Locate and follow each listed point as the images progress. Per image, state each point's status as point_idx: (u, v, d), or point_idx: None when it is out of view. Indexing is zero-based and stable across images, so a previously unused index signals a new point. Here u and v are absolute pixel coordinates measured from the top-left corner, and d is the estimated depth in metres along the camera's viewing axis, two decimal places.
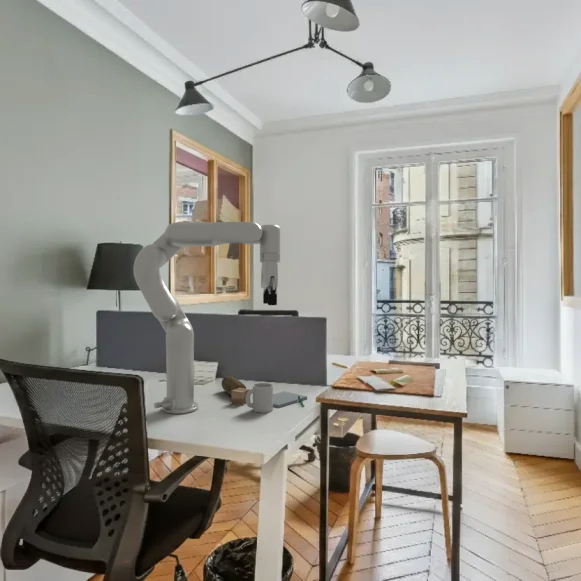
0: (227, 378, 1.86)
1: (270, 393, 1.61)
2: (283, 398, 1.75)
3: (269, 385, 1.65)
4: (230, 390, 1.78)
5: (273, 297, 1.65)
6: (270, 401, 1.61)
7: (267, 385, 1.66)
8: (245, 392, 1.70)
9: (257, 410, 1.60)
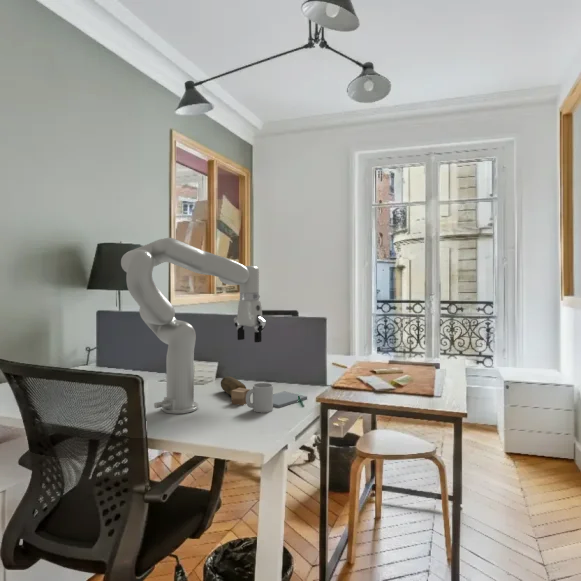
0: (226, 378, 1.86)
1: (270, 393, 1.61)
2: (283, 398, 1.75)
3: (269, 385, 1.65)
4: (230, 390, 1.78)
5: None
6: (270, 401, 1.61)
7: (267, 385, 1.66)
8: (245, 392, 1.70)
9: (257, 410, 1.60)
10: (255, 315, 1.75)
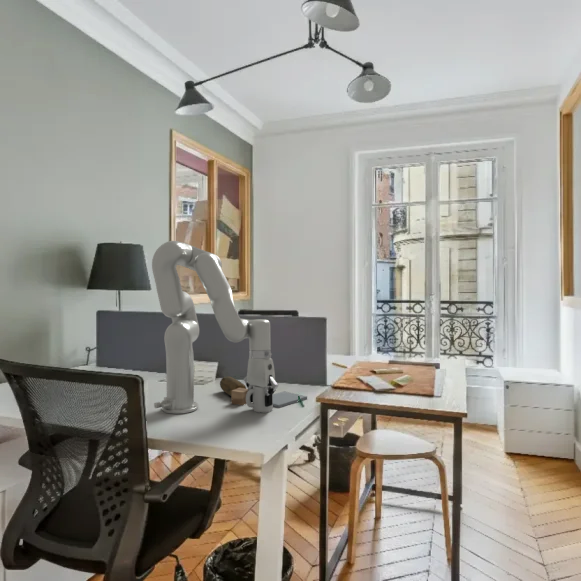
0: (226, 378, 1.86)
1: None
2: (283, 398, 1.75)
3: None
4: (230, 390, 1.78)
5: None
6: None
7: None
8: (245, 392, 1.70)
9: (257, 410, 1.60)
10: (267, 375, 1.58)
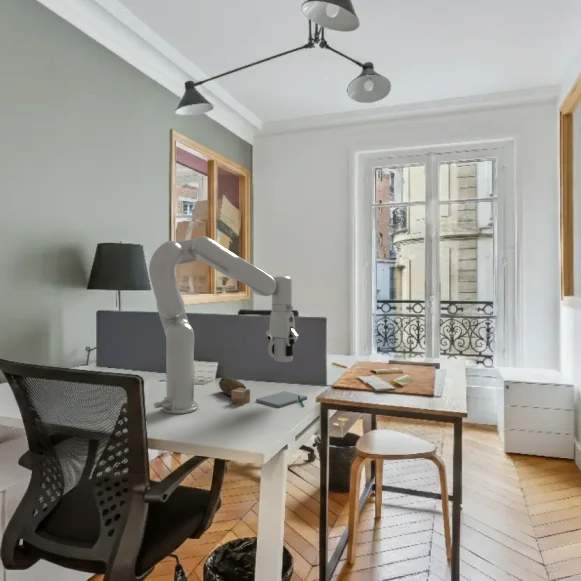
0: (225, 378, 1.86)
1: None
2: (283, 398, 1.75)
3: None
4: (230, 390, 1.78)
5: None
6: None
7: None
8: (245, 392, 1.70)
9: (278, 359, 1.73)
10: (288, 327, 1.70)
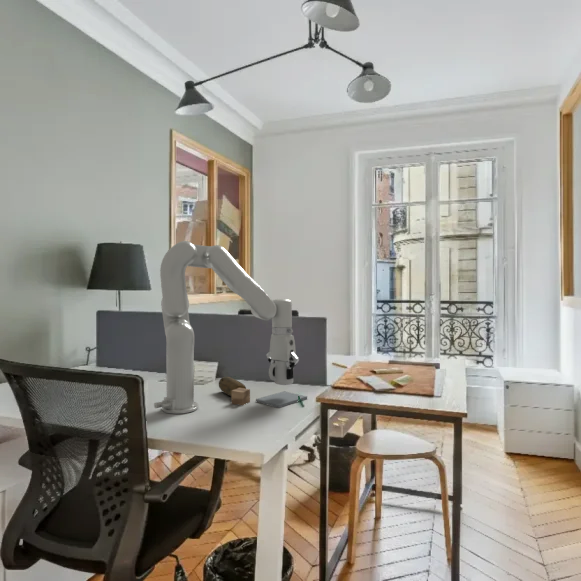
0: (225, 378, 1.86)
1: None
2: (283, 398, 1.75)
3: None
4: (230, 390, 1.78)
5: None
6: None
7: None
8: (245, 392, 1.70)
9: (279, 382, 1.73)
10: (289, 350, 1.71)
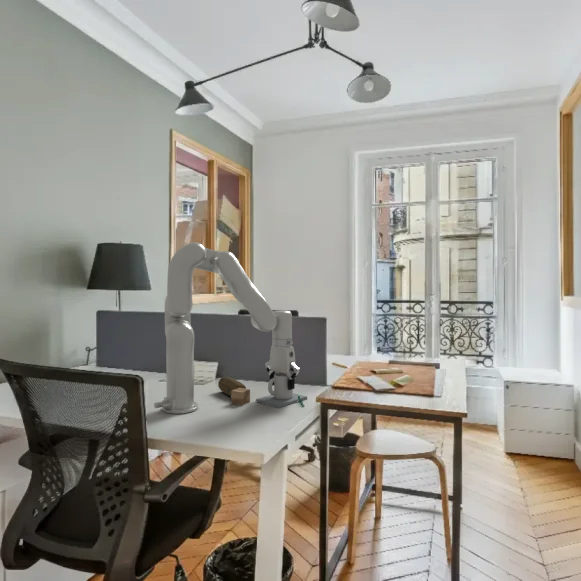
0: (224, 379, 1.85)
1: None
2: None
3: None
4: (230, 390, 1.78)
5: None
6: None
7: (286, 374, 1.79)
8: (245, 392, 1.70)
9: (279, 397, 1.73)
10: (289, 362, 1.71)
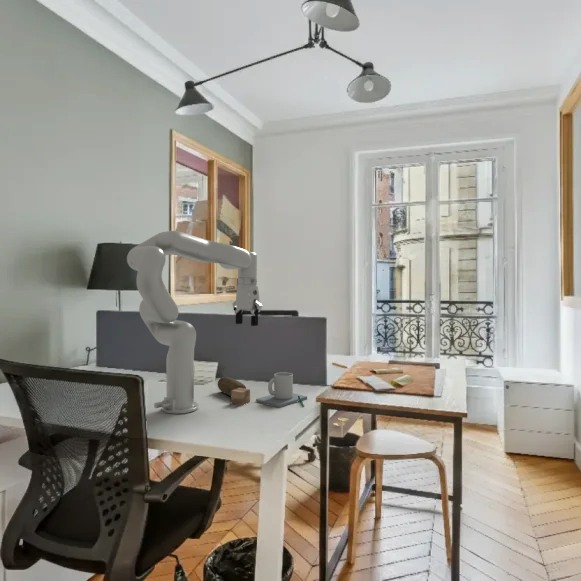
0: (224, 379, 1.85)
1: (290, 381, 1.74)
2: None
3: (289, 374, 1.79)
4: (230, 390, 1.77)
5: None
6: (290, 389, 1.74)
7: (286, 374, 1.79)
8: (245, 392, 1.70)
9: (279, 397, 1.73)
10: (252, 299, 1.81)
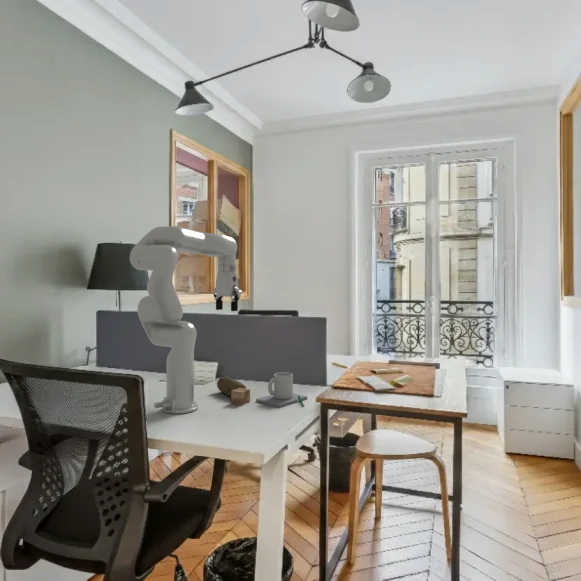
0: (224, 379, 1.85)
1: (290, 381, 1.74)
2: None
3: (289, 374, 1.79)
4: (230, 391, 1.77)
5: None
6: (290, 389, 1.74)
7: (286, 374, 1.79)
8: (245, 392, 1.70)
9: (279, 397, 1.73)
10: (231, 285, 1.87)
